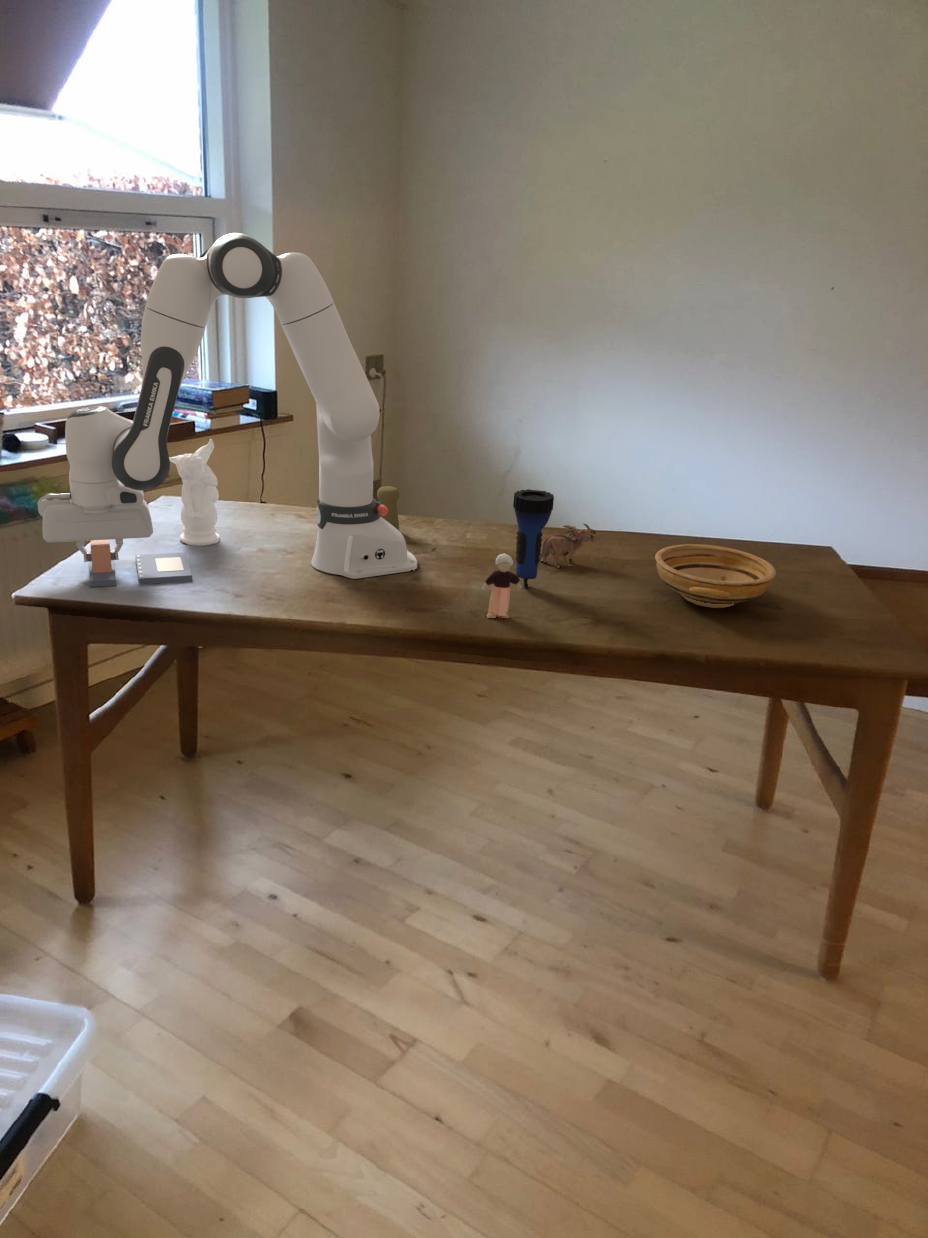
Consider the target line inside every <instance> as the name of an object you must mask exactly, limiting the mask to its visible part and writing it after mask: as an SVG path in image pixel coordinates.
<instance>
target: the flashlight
mask: <svg viewBox="0 0 928 1238" xmlns="http://www.w3.org/2000/svg"><path fill="white" fill-rule="evenodd" d="M554 501H555V496H554V494H553V493H551V492H549V491H548V492H547V491H545V490H538V489H530V488H529V489H521V490H517V491H516V492H514V493H513V504H512V505H513V507H512V508H513V509H514V515H515V517H516V522H517V526H518V528H517V532H516V543H515V545H516V547H515V550H516V551H515V555H516V557H515V561H516V564H515V565H516V568H515V575H516V576H517V577H518V578H519V579H523V588H524V589H528V588H529V584H528V581H529V580H534V579H536V578H537V576H538V569H539V563H540V562H541V559H540V558H539V557H540V555H541V553H542V546H543V543H542V541H543V538H542V537H543V532H542V531H543V529H544V528H545V527H546V525H547V524H548V522H549V520H550V518H551V514H552V512H553V511H552V510H553V509H554Z"/></svg>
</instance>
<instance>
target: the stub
mask: <svg viewBox="0 0 928 1238" xmlns="http://www.w3.org/2000/svg"><path fill="white" fill-rule="evenodd" d="M110 545H111V543H110V539H109V540H90V551H91V557H92V561H91V562H89V582H90V583H89V584H90V587H91V588H93V587H111V586H117V581H116V567H115V560H111V554H110V550H111V546H110Z"/></svg>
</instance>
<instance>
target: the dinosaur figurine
mask: <svg viewBox="0 0 928 1238" xmlns="http://www.w3.org/2000/svg"><path fill="white" fill-rule="evenodd" d="M583 525H584V526H585V527H586V529H581V530H579V529H577V528H576V527H577V526H576V525H575V526H572V525H569V524H567V525H563V526H562V527H563V528H565V529H568V530H566V531H564V534H565V533H570V534H569V535H568V536H566V535H564V534H555V535H551V536H549V537H547V538H545V541H544V542H543V543H542V546H541V552H540V553H541V554H540V557H539V558H540V562H541V561H547V557H548V556H549V555H551V556H553V558H552V560H551V562H552V563H553V565H557V566H558V565H559V563H558V561H559V559H560V557H562V558H564V561H565V563H566V565H567V564H570V559H569V558H572V556H574V555H575V554H576V552H577V551H578V550H580V548H581V547H582V546H583V544H584V543H587V542H588V541H589V542H594V541H595V535H597V532H596V530H594V529H593V528H591V527H590V526H589V525H588V524H586V523H583ZM571 536H572V538H575V539H572V538H570V537H571ZM570 565H571V564H570Z"/></svg>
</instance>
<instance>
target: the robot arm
mask: <svg viewBox="0 0 928 1238" xmlns="http://www.w3.org/2000/svg"><path fill="white" fill-rule="evenodd" d="M152 282H153V283H152V285H151V287H150V290H149V293H148V296H147V298H146V299H147V300H146V303H145V307H144V311H143V315H142V321H141V330H140V353H141V354H140V355H141V360H142V361H141V362H142V363H141V364H142V381H141V388H140V393H139V397H138V401H137V404H136V408H135V411H134V412H135V413H134V416H133V420H132V419H128V418H127V417H124V416H121V415H119V414H118V413H116V412H114V411H112V410H110V409H109V408H108V407H107V406H103V405H91V406H84V407H81V408H79V409H75V410H74V411H72V412H71V413H70V414H69V415H68V417H67V418H66V421H65V428H64V433H65V434H64V438H65V440H64V441H65V453H66V458H67V460H68V462H69V473H68V482H69V489H70V490H69V492H67V493H63V492H61V493H47V494H44V496H41V497H40V498H39V499H38V501H37V511H38V514H39V515H40V516H41V518H42V538H43V540H44V541H46V543H67V542H75V543H76V544H75V545H76V548H78V550H79V551H80V553H81V554H82V555H83V562H84V563H88V562H89V563H90V562H91V561H92V557H91V550H87V549H86V547H85V541H94V540H109V541H110V540H114V541H115V547H114V549H110V554H111V560H114V561H119V552H120V550H121V549H122V547H123V545H124V539H127V540H128V539H144V538H147V539H148V538H150V537H151V536H152V535H153V533H154V529H153V521H152V517H151V512H150V508H149V506H148V503H147V501H146V500H145V499H144V497H145V496H144V495H145V493H144V491H150V490H153V489H155V488H157V487H159V486H160V485H162V484H163V483H164V482H165V481H166V479H167V477H168V475H169V473H170V469H171V462H170V460H169V457H170V455H169V450H168V446H167V445H168V434H169V431H170V430H169V429H170V425H171V422H172V419H173V414H174V411H175V406H176V403H177V399H178V394H179V392H180V389H181V386H182V385H183V382H184V379H185V378H186V375H187V373H188V371H189V369H190V367H191V365H192V363H193V361H194V359H195V357H196V355H197V352H198V350H199V348H200V345H201V343H202V340H203V337H204V336H205V335H204V334H205V331H206V327H207V324H208V323H207V322H208V319H209V316H210V313H211V310H212V308H213V305H214V304H215V302H216V301H217V300H218V299H219V298H220V297H222V296H225V295H227V296H230V297H233V298H237V299H252V298H253V299H254V298H263V297H265V299H267V300H268V301H269V303H270V304H271V306H272V308H273V310H274V312H275V315H276V316H277V319H278V321H279V323H280V326H281V328H282V331H283V332H284V335H285V337H286V340H287V342H288V344H289V346H290V348H291V350H292V353H293V355H294V357H295V360H296V363H297V364H298V366H299V368H300V370H301V372H302V375H303V377H304V380H305V381H306V384H307V385H308V388H309V390H310V392H311V394H312V396H313V398H314V401H315V403H316V405H315V407H316V409H315V410H316V427H317V428H316V430H317V431H316V432H317V445H318V462H319V463H318V464H319V468H318V471H319V473H318V474H319V475H318V476H319V477H318V478H319V479H318V481H319V483H318V484H319V485H318V486H319V487H318V488H319V489H318V491H319V492H318V495H319V496H318V498H317V500H316V501H317V502H316V514H315V515H316V524H317V536H316V543H315V546H314V547H315V548H314V553H313V556H312V559H311V561H310V564H311V566H312V567H313V568H314V569H316V570H318V571H320V572H323V573H326V574H332V575H339V576H343V577H346V578H348V579H354V580H355V579H363V578H364V579H365V578H371V577H376V576H377V577H379V576H384V575H386V576H387V575H391V574H398V573H406V572H411V570H413V571H416V570H415V569H418V560H417V558H416V556H415V555H414V554H413V553H411V552H410V551H409V550H408V547H407V542H406V539H405V537H404V534H403V533H402V532H401V531H399V530H400V529H399V530H397V529H396V528H395V527H394V526H392V525H391V524H390V523H389V522H387V521H386V520H385V519H383V518H382V517H381V516H385V515H387V513H388V508H387V507H386V506H385V505H382V504H381V503H380V502H379V500H376V499H375V498H373V494H374V493H373V491H374V459H373V449H372V448H373V446H372V435H373V433H374V432H375V431H376V430H377V427H378V425H379V421H380V412H381V410H380V405H379V402H378V400H377V397H376V396H375V395H376V394H375V393H374V390H373V388H372V386H371V383H370V382H369V379H368V377H367V375H366V373H365V370H364V368H363V366H362V364H361V362H360V359H359V358H358V355H357V352H356V351H355V349H354V347H353V345H352V343H351V340H350V337H349V336H348V333H347V331H346V328H345V326H344V322H343V320H342V318H341V315H340V314H339V311H338V309H337V307H336V304H335V302H334V299H333V297H332V294H331V291H330V290H329V288H328V286H327V284H326V282H325V280H324V279H323V276H322V274H320V272H319V269H318V268H317V267H316V265H315V263H314V262H313V261H312V259H311V257H309V256H308V255H306V254H304V253H302V252H287V253H282V254H280V255H277V256H276V254H274V253H273V252H272V251H270V250H269V249H268V248H267V247H265V245H263V244H262V243H261V242H259V241H258V240H256V239H255V238H254V237H252V236H250V235H248V234H245V233H241V232H232V233H227V234H225V235H222V236H221V237H219V238H217V239H216V241H214V242H213V243H212V244H211V245H210V246H209V248H207V249H206V250H205V251H204V252H203V253H202V254H201V255H200V256H199V257H195V256H192V255H189V254H183V253H175V254H170V255H168V256H167V257H166V258H165V259H164V260H163V261H162V263H161V264H160V267H159V268H158V270H157V272H156V275H155V276H154V280H153V281H152Z"/></svg>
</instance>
